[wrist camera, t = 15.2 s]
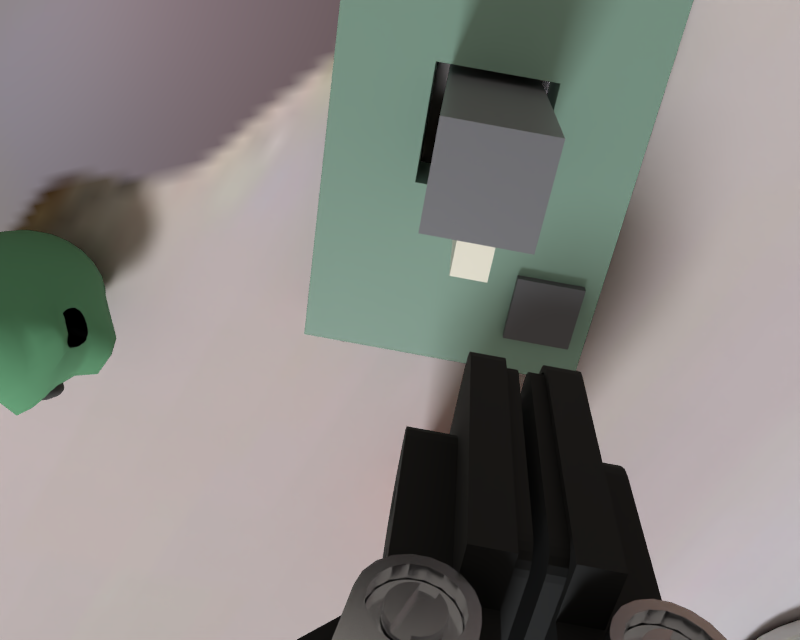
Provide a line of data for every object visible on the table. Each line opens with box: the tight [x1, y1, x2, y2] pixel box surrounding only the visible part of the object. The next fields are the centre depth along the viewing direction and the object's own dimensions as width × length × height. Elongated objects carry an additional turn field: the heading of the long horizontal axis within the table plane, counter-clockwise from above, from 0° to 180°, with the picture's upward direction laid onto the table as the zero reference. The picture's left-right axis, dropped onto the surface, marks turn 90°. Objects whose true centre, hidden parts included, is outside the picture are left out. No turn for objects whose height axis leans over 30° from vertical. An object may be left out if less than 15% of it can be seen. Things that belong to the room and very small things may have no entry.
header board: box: [304, 0, 693, 375], centre depth 30 cm, size 12×16×3 cm
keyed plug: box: [418, 64, 565, 283], centre depth 26 cm, size 4×5×10 cm
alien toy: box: [0, 230, 116, 415], centre depth 32 cm, size 7×8×10 cm
